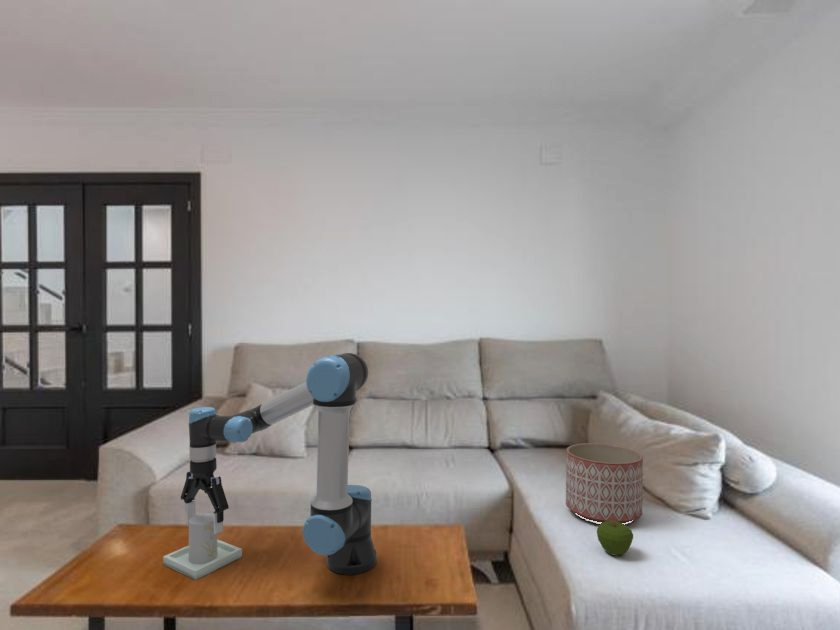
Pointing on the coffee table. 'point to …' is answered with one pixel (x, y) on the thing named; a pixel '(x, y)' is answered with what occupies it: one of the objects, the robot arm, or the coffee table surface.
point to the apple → (614, 537)
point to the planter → (604, 482)
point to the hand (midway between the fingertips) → (204, 527)
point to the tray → (196, 571)
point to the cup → (202, 539)
